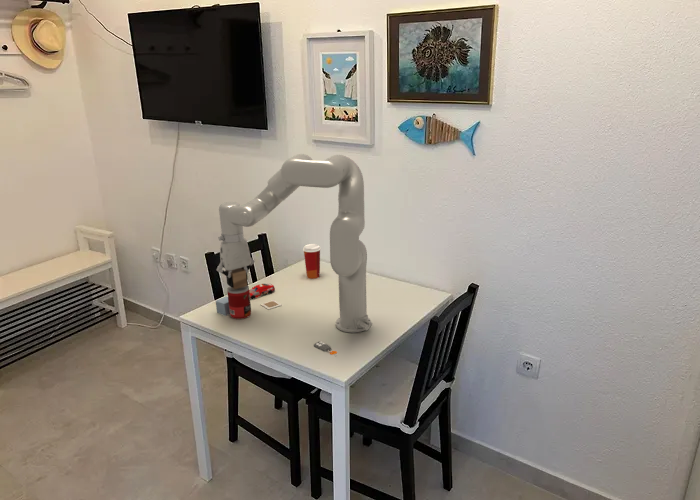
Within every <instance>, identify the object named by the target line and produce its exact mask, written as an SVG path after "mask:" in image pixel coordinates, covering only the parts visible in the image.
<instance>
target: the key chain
mask: <svg viewBox="0 0 700 500" xmlns="http://www.w3.org/2000/svg"><path fill="white" fill-rule="evenodd" d="M313 347H314V348H316V349H318V350H321V351H323V352H327V353H329V355H332V356H334V357H337V356H338V355H337V353H338V351H337V350H332V347H331V346H330V345H329V344H327V343H325V342H323V341H317V342H315V343H313Z"/></svg>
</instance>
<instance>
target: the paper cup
mask: <svg viewBox="0 0 700 500" xmlns="http://www.w3.org/2000/svg"><path fill="white" fill-rule="evenodd" d="M321 249H322V248H321V246H320V245H319V244H317V243H308V244H306V245H304V246H303V248H302V250H303V256H304V263H305V264H304V265H305V273H306V278H307V279H310V280H312V279H313V280H315V279H319V278H320V276H321Z"/></svg>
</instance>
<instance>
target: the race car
mask: <svg viewBox="0 0 700 500" xmlns="http://www.w3.org/2000/svg"><path fill="white" fill-rule="evenodd" d="M275 292H276V287H275V286H274V284H272V283H260V284H256V285H255V286H253V287H251V288H249V293H250V300H255V299H256V298H260V297H264V296H267V295H272V293H275Z"/></svg>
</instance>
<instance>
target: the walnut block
mask: <svg viewBox="0 0 700 500" xmlns="http://www.w3.org/2000/svg"><path fill="white" fill-rule="evenodd" d="M231 277H232V279H233V287H232V288H233V289H238V288H241V287H245V286H247V285H248V280H247V278H246V270H244V269H242V268H238V269H235V270H232V273H231Z"/></svg>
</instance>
